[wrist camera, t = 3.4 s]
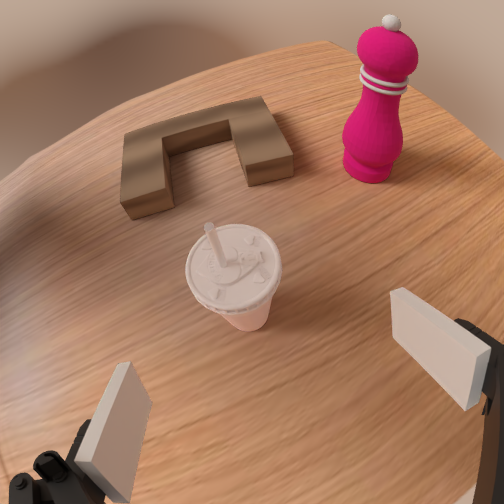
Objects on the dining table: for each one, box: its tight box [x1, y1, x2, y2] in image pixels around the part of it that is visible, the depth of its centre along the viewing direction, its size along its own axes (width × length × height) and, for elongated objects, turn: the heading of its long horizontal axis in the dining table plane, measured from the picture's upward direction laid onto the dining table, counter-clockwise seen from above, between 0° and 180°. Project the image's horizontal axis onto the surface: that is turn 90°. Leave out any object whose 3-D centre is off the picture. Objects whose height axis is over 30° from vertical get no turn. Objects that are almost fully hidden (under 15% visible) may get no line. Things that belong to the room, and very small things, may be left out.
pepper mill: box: [342, 15, 418, 183], centre depth 28 cm, size 7×7×20 cm
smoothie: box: [185, 223, 282, 332], centre depth 22 cm, size 6×6×14 cm
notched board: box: [120, 96, 294, 220], centre depth 38 cm, size 14×20×4 cm
